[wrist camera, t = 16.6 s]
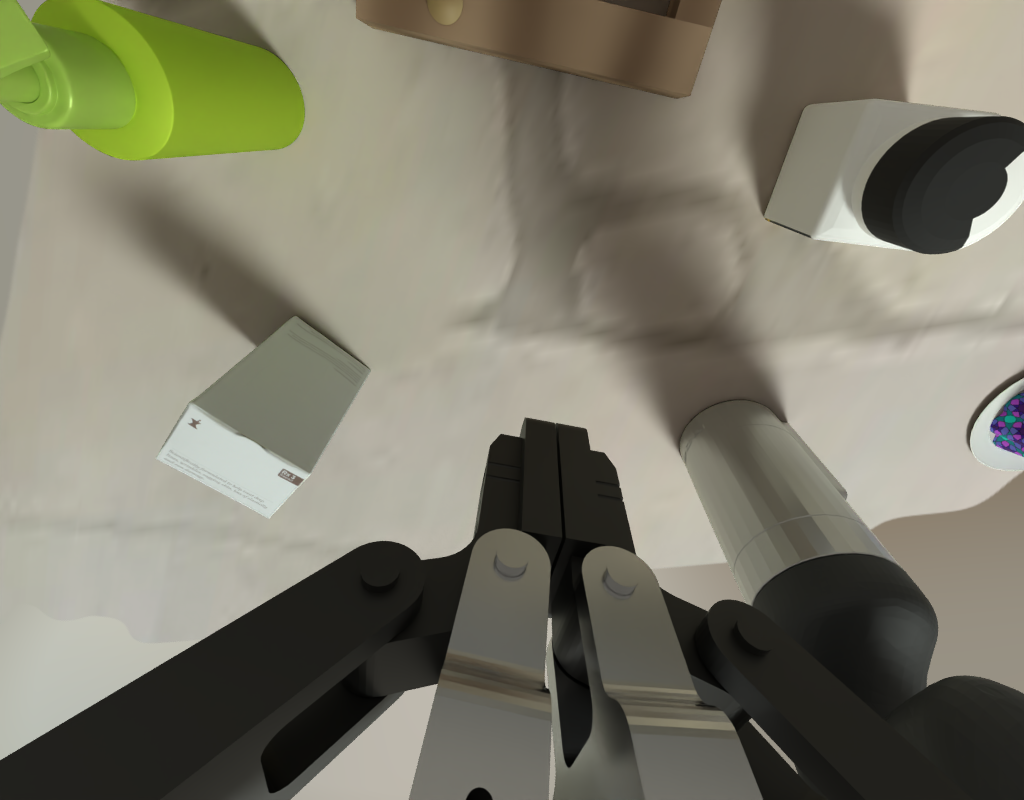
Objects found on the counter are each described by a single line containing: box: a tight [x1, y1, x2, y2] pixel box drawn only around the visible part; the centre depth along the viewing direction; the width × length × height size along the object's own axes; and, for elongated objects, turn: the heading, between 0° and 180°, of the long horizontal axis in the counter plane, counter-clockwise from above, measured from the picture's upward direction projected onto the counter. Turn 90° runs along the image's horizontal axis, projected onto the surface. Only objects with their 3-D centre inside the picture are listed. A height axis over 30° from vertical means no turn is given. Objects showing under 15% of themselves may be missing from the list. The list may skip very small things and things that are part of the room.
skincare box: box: [156, 316, 371, 518], centre depth 35 cm, size 8×6×15 cm
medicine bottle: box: [764, 99, 1024, 254], centre depth 26 cm, size 7×7×12 cm
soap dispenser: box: [0, 0, 305, 160], centre depth 22 cm, size 6×7×20 cm
